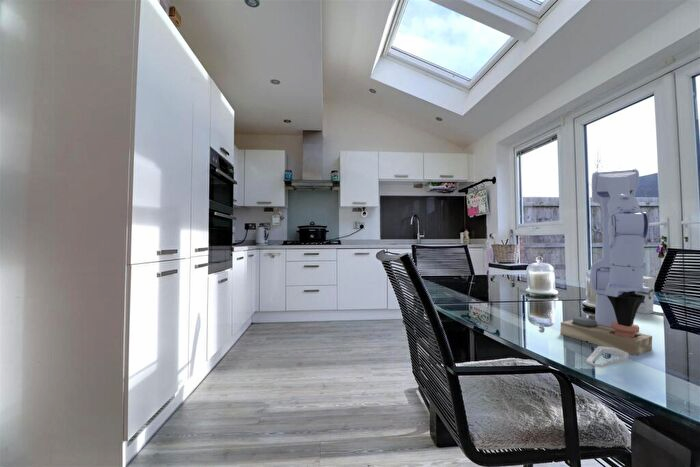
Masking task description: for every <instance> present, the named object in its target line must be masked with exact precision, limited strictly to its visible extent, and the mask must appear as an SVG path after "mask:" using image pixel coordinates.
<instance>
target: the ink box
mask: <svg viewBox="0 0 700 467" xmlns="http://www.w3.org/2000/svg"><path fill="white" fill-rule="evenodd" d="M643 283H645V287H649V288H650V291H644V292H640V291H638V292H637V293H636V294H640V295H645V299H644V300H643V302H642V303H641V304H640V306H639V308H638V310H637V312H636V313H638V314H644V315H648V314H653V313H654V302H655V301H654V298H655V297H654V296H655V295H654V294H655V277H651V276H644V275H643Z"/></svg>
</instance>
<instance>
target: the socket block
mask: <svg viewBox="0 0 700 467" xmlns="http://www.w3.org/2000/svg"><path fill="white" fill-rule="evenodd" d="M559 333H560V335H562V336H565V337H569V338H573V339H576V340H580V341H583V342H586V341H588V342H587V343H590V344H594V345H597V346H603V347H613V348H617V349H619V350H622V351H624V352H627V353H629V355H632V356H636V357H637V356H639V355H642V354H644V353H647V352H649V351H652V349H653V335H649V334H645V333H641V332H638V333H635V338H629V337H625V336H621V335H617V334H615V329H613V328H611V326H607V325H602V324H598V323H597V326H594V327H592V328H588V327H584V326H580V325H576V324H575V323H573V319H569V320H566V321H562V322H560V332H559Z"/></svg>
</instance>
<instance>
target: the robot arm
mask: <svg viewBox="0 0 700 467" xmlns="http://www.w3.org/2000/svg"><path fill="white" fill-rule="evenodd" d="M639 182H640V172H639V170H638V169H637V168H629V169H617V170H614V169H613V170H603V171H602V170H601V171H598V170H597V171H596V170H595V171H593V173H592V174H591V198H592V202H594V203H596V204H598V205H599V206H600V209H601V213H602V214H601V216H602V218H601V219H602V221H601V222H602V233H601V234H602V258H601V259H599V260H597V261H594V262H593V263H592V264H591V266H590V272H589V273H590V274H589V288H590V290H591V291H592V292H595V307H594V308H595V314H594V317H595V318H594V320H596V321H597V323H598V324H602V325H607V326H611V322H618V324H620V325H624V326H632V324H633V325H636V326H638V327H639V325H638V324H635V322H634V320H635V319H636V316H637V313H638V312H637V310H638V308H639V306H640V304H641V303H642V302H643V300H644V299H645V295H640V294H636V293H637V292H638V291H640V292H644V291H650V288H649V287H645V283H643V276H644V259H645V239H646V238H647V237H648V235H649V230H650V220H649V215H648V212H645V211H643V210H642V211H641V208H640V204H639V200H638V199H637V198H636V193H637V189H638V188H639V184H640V183H639Z"/></svg>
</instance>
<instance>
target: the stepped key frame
mask: <svg viewBox="0 0 700 467" xmlns="http://www.w3.org/2000/svg"><path fill="white" fill-rule="evenodd" d="M602 354H608V355H609V354H610V355H614V356H616V357H615V358H610V359H609V360H605V361H603V362H599V363H594V362H595V361H596V360H597V359H598V358H599V357H600V356H601V355H602ZM629 356H630V354H629V353H627V352H624V351H622V350H619V349H617V348H613V347H604V346H600V345H597V347H596V348H595V349H594V350H593V352H591V354H590V355H589V356H588V358H587V359H586V360H585V363H586V364H588V365H591V366H593V367H599V368H603V367H606V366H608V365H613V364H614V363H615V364H619V363H620V362H624V363H625V362H627V361H628V359H629Z"/></svg>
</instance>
